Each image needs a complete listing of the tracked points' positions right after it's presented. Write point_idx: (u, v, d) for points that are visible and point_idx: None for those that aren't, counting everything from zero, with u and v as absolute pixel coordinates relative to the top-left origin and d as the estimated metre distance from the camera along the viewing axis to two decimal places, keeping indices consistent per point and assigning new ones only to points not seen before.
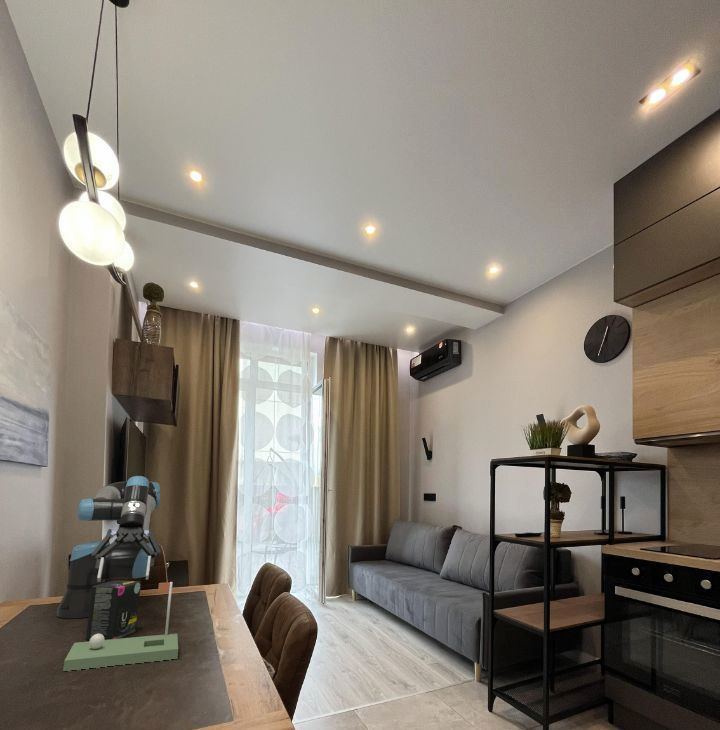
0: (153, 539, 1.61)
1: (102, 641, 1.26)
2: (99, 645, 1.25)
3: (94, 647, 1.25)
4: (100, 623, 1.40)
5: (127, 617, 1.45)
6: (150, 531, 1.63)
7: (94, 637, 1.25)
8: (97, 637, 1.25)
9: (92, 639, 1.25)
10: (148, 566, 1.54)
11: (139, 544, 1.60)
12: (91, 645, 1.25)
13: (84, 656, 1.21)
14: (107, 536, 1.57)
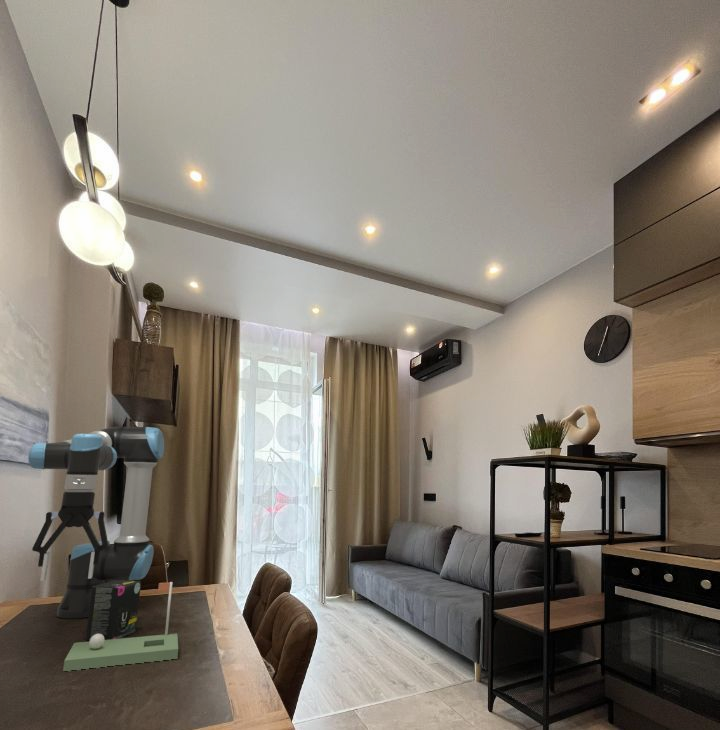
0: (102, 528, 1.31)
1: (102, 641, 1.26)
2: (99, 645, 1.25)
3: (94, 647, 1.25)
4: (100, 623, 1.40)
5: (127, 617, 1.45)
6: (100, 516, 1.32)
7: (94, 637, 1.25)
8: (97, 637, 1.25)
9: (92, 639, 1.25)
10: (91, 566, 1.28)
11: None
12: (91, 645, 1.25)
13: (84, 656, 1.21)
14: (47, 522, 1.27)
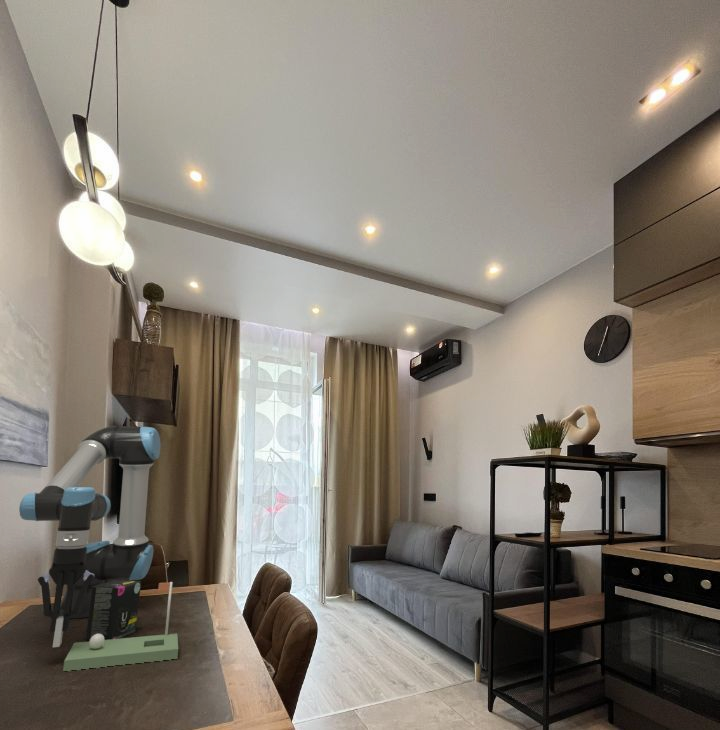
0: (83, 591, 1.26)
1: (102, 641, 1.26)
2: (99, 645, 1.25)
3: (94, 647, 1.25)
4: (100, 623, 1.40)
5: (127, 617, 1.45)
6: (88, 578, 1.27)
7: (94, 637, 1.25)
8: (97, 637, 1.25)
9: (92, 639, 1.25)
10: (59, 634, 1.23)
11: None
12: (91, 645, 1.25)
13: (84, 656, 1.21)
14: (44, 586, 1.24)
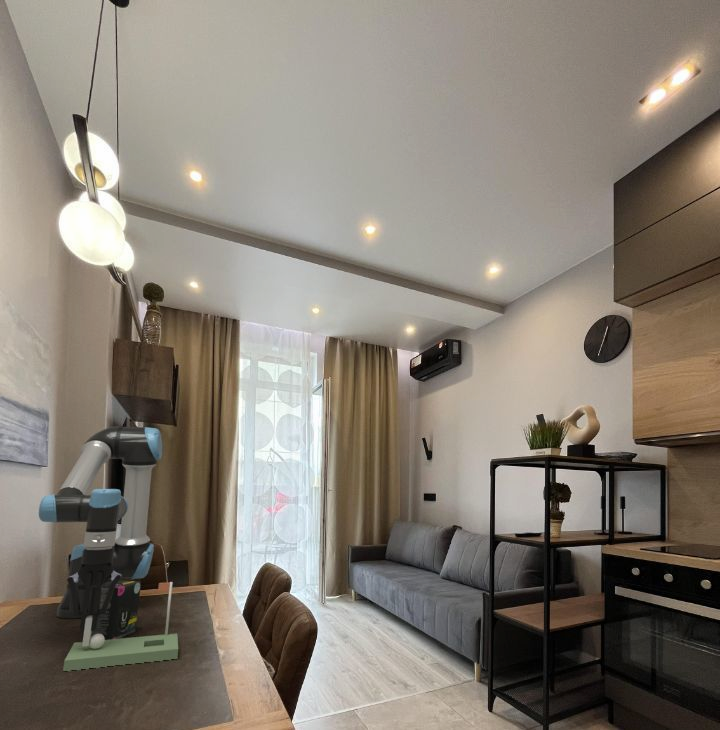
0: (110, 591, 1.29)
1: (102, 641, 1.26)
2: (99, 645, 1.25)
3: (94, 647, 1.25)
4: (100, 623, 1.40)
5: (127, 617, 1.45)
6: (116, 579, 1.30)
7: (94, 637, 1.25)
8: (97, 637, 1.25)
9: (92, 639, 1.25)
10: (88, 633, 1.25)
11: None
12: (91, 645, 1.25)
13: (84, 656, 1.21)
14: (73, 586, 1.26)
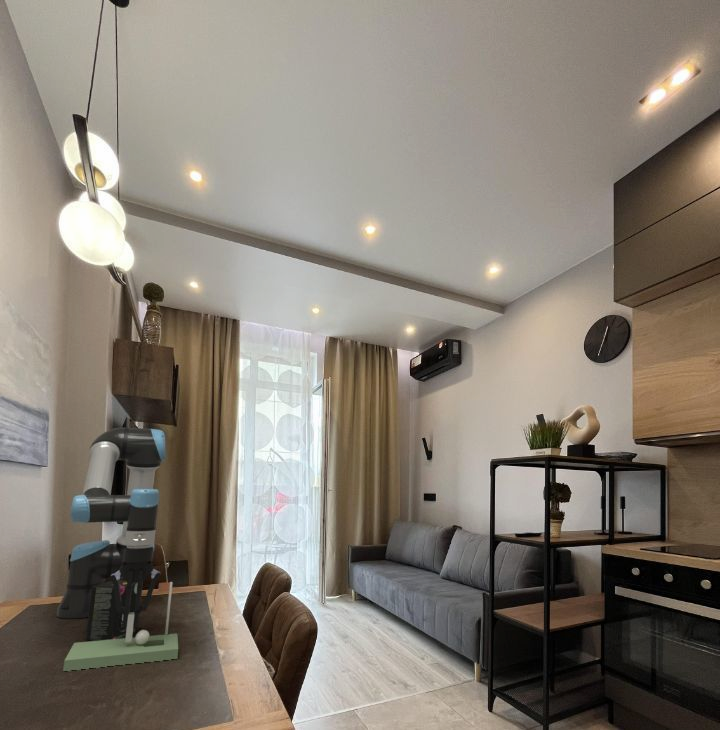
0: (151, 589, 1.32)
1: (147, 637, 1.29)
2: (145, 641, 1.29)
3: (140, 643, 1.28)
4: (100, 623, 1.40)
5: None
6: (156, 576, 1.33)
7: (139, 634, 1.29)
8: (142, 634, 1.29)
9: (138, 636, 1.29)
10: (131, 629, 1.28)
11: None
12: (137, 641, 1.28)
13: (84, 656, 1.21)
14: (115, 583, 1.29)
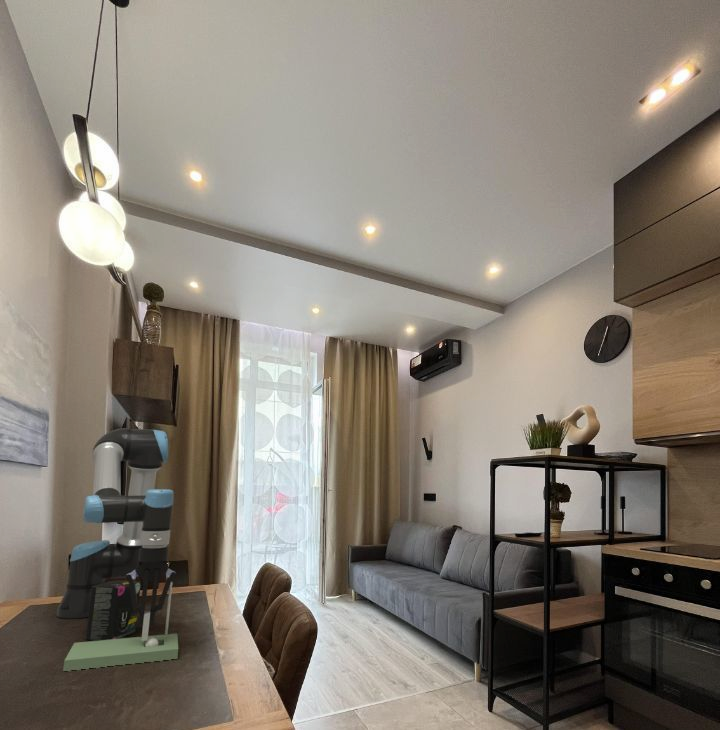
0: (166, 588, 1.34)
1: None
2: None
3: (147, 645, 1.29)
4: (100, 623, 1.40)
5: (127, 617, 1.45)
6: (171, 576, 1.35)
7: (156, 644, 1.30)
8: None
9: (155, 643, 1.30)
10: (147, 628, 1.30)
11: None
12: (150, 642, 1.29)
13: (84, 656, 1.21)
14: (131, 583, 1.31)
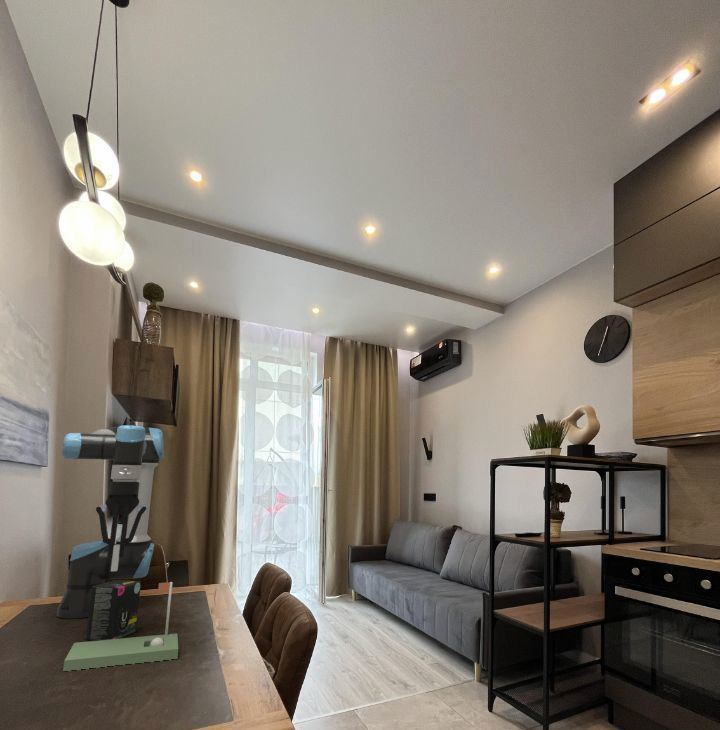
0: (137, 521, 1.34)
1: None
2: None
3: (155, 642, 1.30)
4: (100, 623, 1.40)
5: (127, 617, 1.45)
6: (142, 510, 1.35)
7: None
8: None
9: None
10: (116, 559, 1.31)
11: None
12: (159, 641, 1.30)
13: (84, 656, 1.21)
14: (101, 515, 1.32)
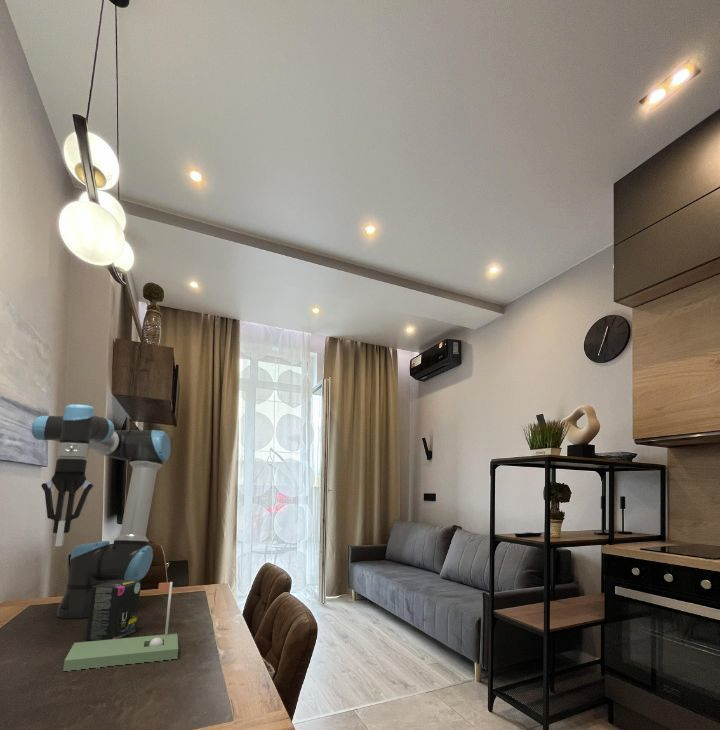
0: (83, 498, 1.37)
1: None
2: None
3: (154, 642, 1.29)
4: (100, 623, 1.40)
5: (127, 617, 1.45)
6: (88, 487, 1.38)
7: None
8: None
9: None
10: (61, 535, 1.33)
11: None
12: (157, 641, 1.30)
13: (84, 656, 1.21)
14: (47, 491, 1.34)
